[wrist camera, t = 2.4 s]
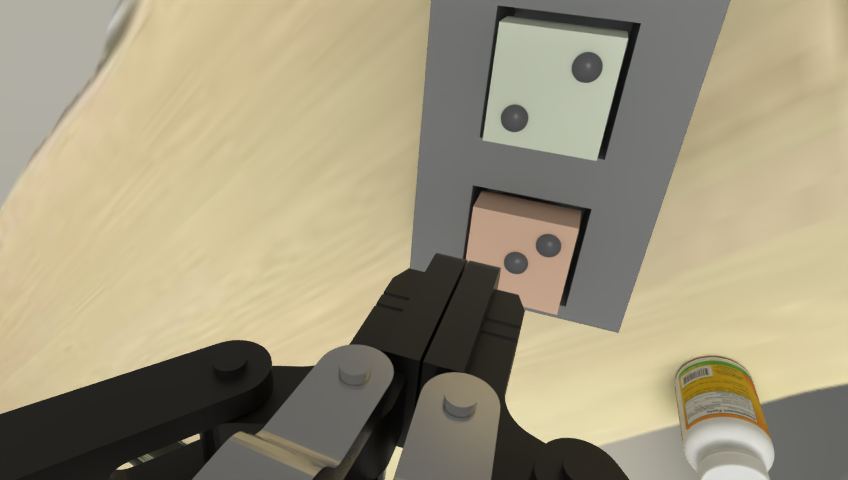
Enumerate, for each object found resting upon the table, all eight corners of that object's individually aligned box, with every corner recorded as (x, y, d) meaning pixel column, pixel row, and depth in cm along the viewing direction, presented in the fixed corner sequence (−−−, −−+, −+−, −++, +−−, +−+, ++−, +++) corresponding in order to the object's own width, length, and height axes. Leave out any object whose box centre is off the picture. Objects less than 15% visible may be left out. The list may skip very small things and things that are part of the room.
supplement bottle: (738, 416, 43) (766, 528, 34) (666, 398, 44) (677, 502, 36) (763, 364, 40) (801, 472, 32) (685, 347, 41) (702, 447, 33)
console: (778, -235, 25) (827, -288, 20) (618, 275, 40) (618, 332, 34) (487, -242, 28) (454, -289, 23) (436, 234, 43) (408, 281, 37)
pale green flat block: (626, 28, 28) (628, 39, 25) (598, 140, 31) (596, 162, 28) (511, 13, 29) (498, 22, 26) (494, 122, 32) (481, 141, 29)
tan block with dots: (582, 202, 33) (578, 230, 30) (561, 284, 36) (556, 316, 33) (485, 183, 34) (472, 208, 31) (473, 263, 37) (460, 293, 34)
